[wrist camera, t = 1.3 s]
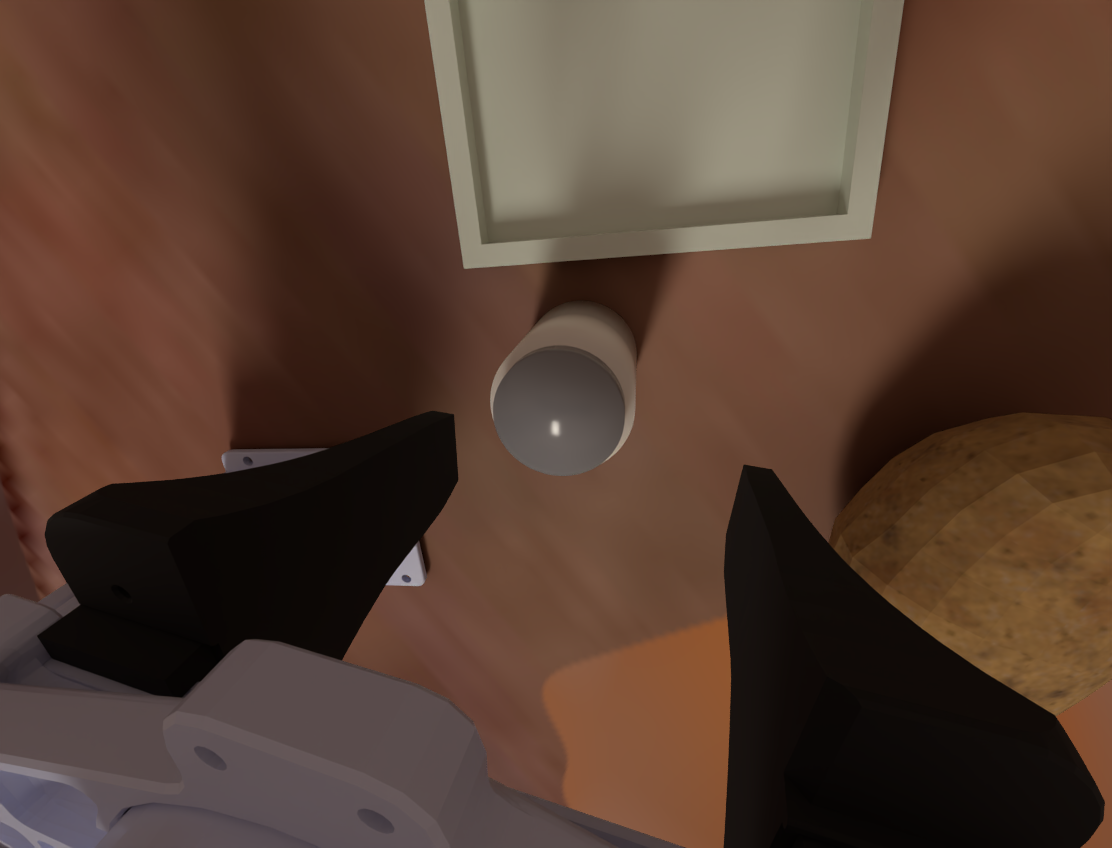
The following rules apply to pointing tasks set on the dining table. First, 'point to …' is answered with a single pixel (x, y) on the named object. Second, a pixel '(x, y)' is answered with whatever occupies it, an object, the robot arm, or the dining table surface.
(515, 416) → the shaker
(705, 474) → the dining table surface
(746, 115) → the tray
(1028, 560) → the potato
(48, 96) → the dining table surface
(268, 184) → the dining table surface
